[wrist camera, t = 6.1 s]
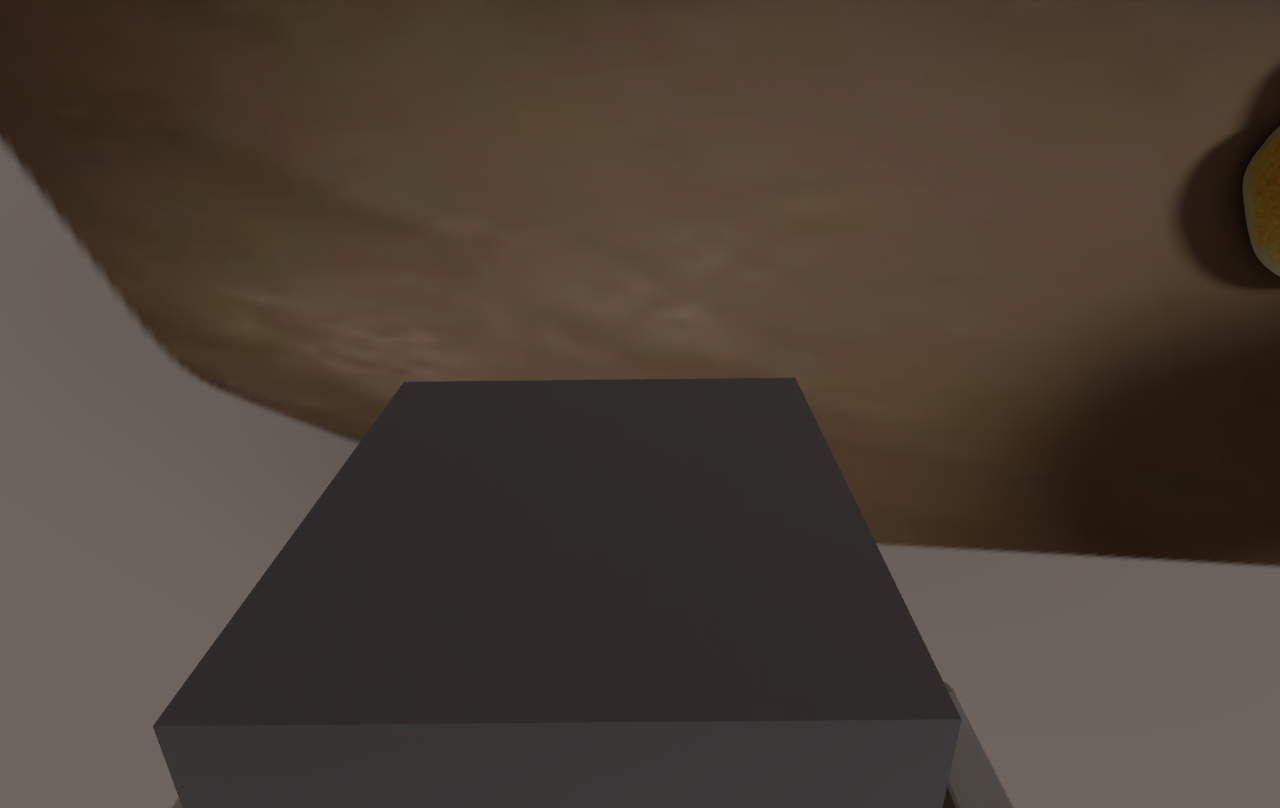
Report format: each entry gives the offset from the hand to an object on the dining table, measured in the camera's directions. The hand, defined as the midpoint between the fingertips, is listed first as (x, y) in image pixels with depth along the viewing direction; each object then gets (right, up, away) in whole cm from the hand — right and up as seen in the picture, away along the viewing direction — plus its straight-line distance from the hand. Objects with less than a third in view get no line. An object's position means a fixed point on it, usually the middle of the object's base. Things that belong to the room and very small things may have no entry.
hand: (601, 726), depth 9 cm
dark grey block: (0, +1, +2) cm, 2 cm away
